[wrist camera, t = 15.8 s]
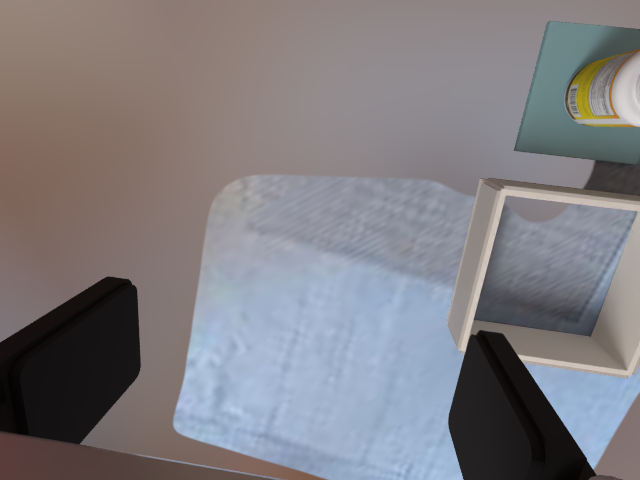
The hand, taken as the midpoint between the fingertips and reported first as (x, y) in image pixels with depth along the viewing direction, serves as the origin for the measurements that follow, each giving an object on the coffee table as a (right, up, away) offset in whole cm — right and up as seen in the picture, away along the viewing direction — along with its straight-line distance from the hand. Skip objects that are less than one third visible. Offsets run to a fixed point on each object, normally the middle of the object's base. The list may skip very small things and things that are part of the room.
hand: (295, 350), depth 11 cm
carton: (+24, +1, +29) cm, 38 cm away
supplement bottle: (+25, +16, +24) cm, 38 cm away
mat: (+25, +16, +24) cm, 39 cm away
